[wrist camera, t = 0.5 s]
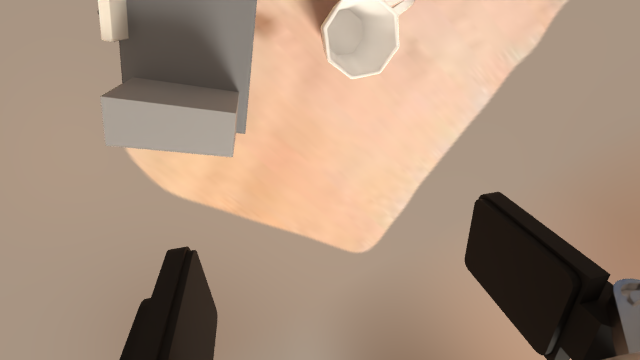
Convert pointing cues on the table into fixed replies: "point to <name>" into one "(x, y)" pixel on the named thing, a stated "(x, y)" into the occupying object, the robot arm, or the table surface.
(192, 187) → the table surface
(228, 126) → the frame
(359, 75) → the cup
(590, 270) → the robot arm
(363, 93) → the table surface
